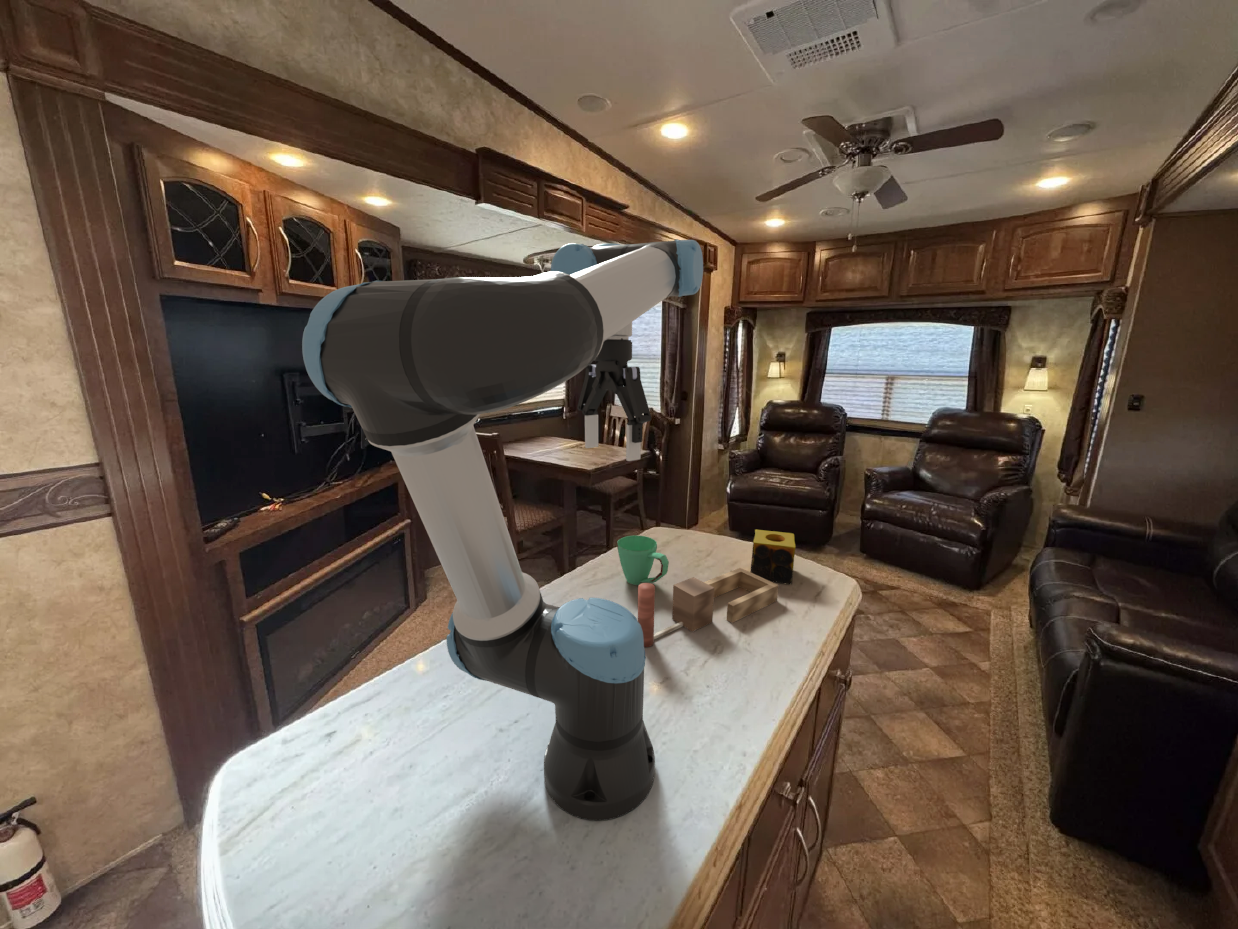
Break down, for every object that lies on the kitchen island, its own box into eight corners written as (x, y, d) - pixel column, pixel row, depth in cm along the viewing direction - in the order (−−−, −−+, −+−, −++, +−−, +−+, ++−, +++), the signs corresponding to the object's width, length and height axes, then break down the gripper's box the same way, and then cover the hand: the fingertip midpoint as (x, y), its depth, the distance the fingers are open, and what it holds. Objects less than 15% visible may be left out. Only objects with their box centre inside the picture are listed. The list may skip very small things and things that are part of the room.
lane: (731, 623, 102) (733, 606, 101) (694, 601, 111) (695, 585, 110) (777, 601, 111) (778, 585, 110) (739, 582, 120) (740, 567, 119)
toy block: (749, 579, 121) (752, 542, 119) (750, 563, 131) (753, 528, 128) (792, 585, 118) (796, 547, 116) (790, 568, 128) (794, 532, 125)
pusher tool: (649, 652, 92) (650, 595, 89) (629, 638, 97) (630, 583, 94) (712, 622, 102) (715, 570, 99) (691, 610, 107) (694, 560, 104)
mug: (608, 580, 121) (608, 542, 118) (635, 568, 127) (636, 532, 125) (652, 601, 110) (653, 561, 108) (679, 587, 117) (681, 549, 115)
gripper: (674, 338, 80) (670, 463, 85) (591, 339, 99) (591, 440, 104) (638, 337, 75) (636, 469, 81) (559, 338, 95) (561, 444, 100)
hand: (611, 453), depth 92 cm, fingers open, 13 cm apart
